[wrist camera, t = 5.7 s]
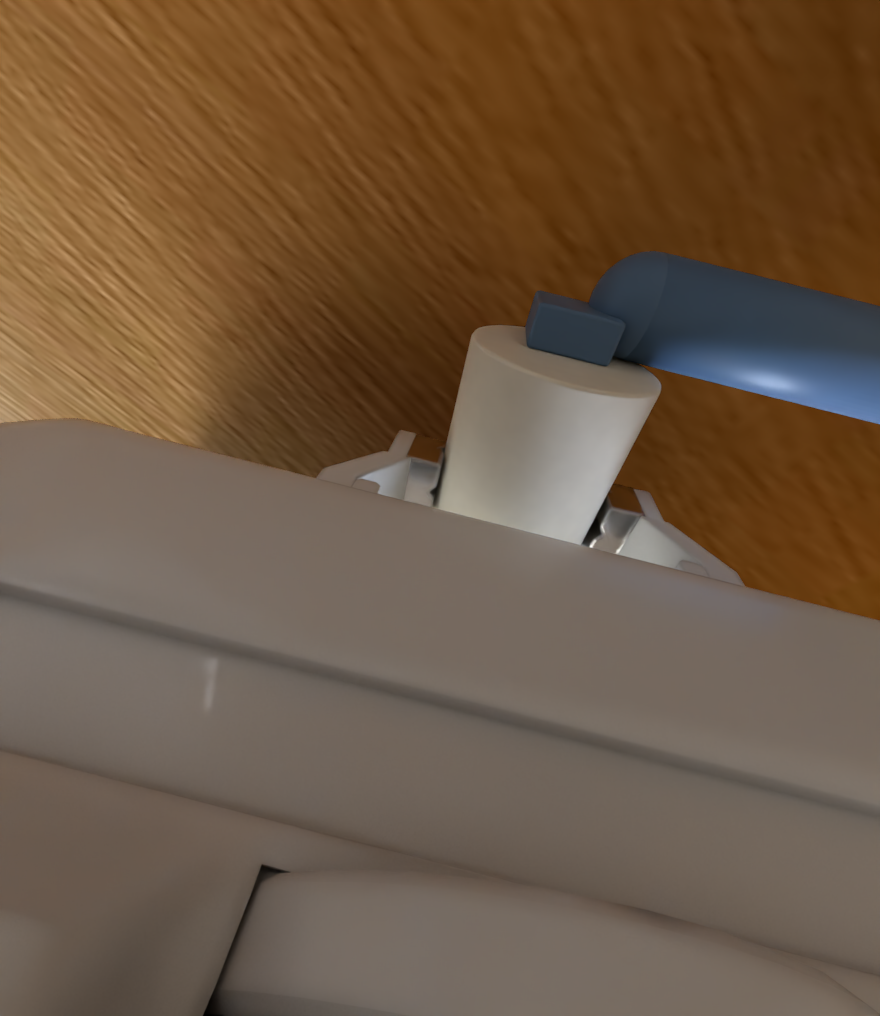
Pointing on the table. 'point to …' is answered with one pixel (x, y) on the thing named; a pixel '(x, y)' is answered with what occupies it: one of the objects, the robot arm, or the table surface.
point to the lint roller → (635, 380)
